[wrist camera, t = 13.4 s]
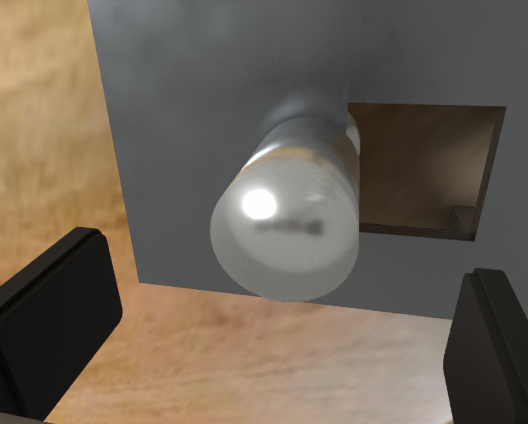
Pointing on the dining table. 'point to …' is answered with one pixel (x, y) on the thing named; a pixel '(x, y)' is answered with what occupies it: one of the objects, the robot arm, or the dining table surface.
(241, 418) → the dining table surface
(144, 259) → the grey windowed bracket
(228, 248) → the peg
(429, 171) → the dining table surface
